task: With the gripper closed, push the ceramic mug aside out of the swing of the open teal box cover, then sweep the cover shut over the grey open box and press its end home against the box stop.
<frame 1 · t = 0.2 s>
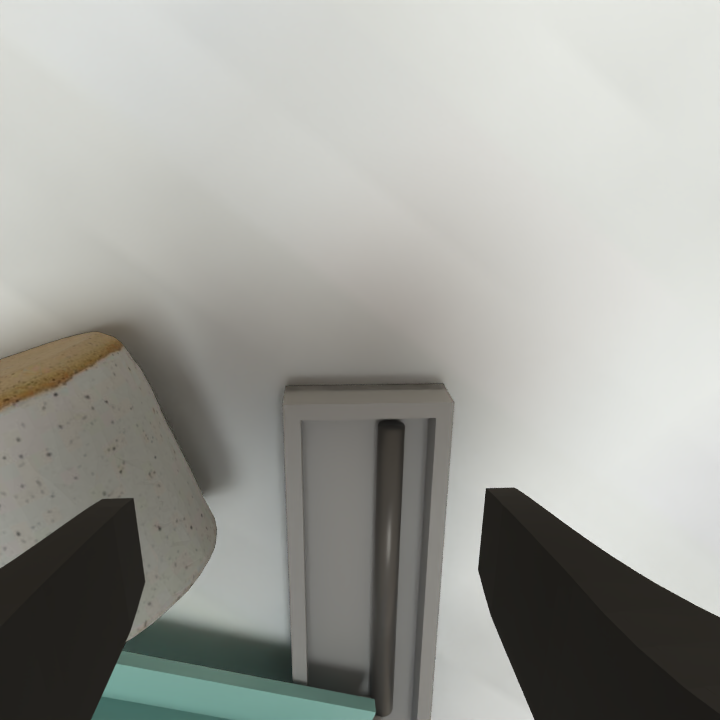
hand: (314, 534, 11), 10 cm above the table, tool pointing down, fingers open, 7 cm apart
ceramic mug: (76, 446, 21), on the table
grey open box: (362, 568, 23), on the table
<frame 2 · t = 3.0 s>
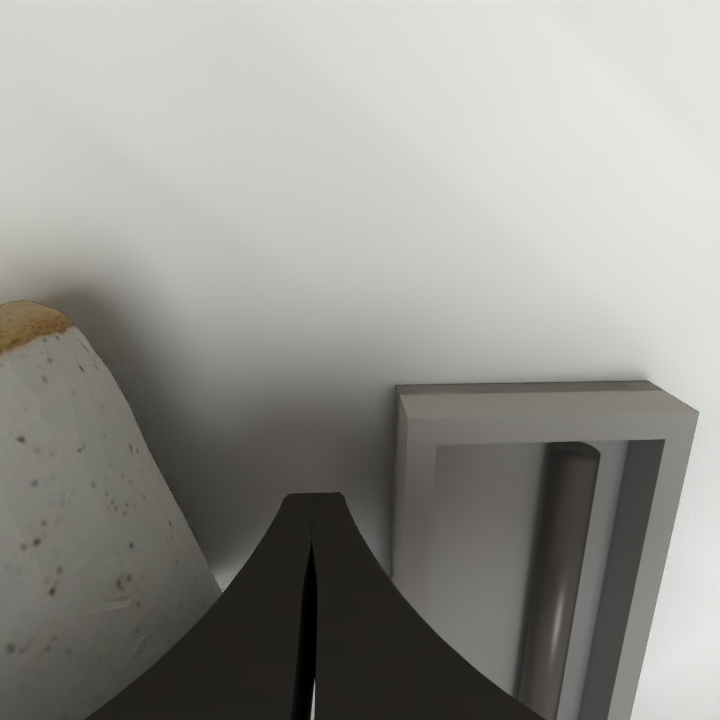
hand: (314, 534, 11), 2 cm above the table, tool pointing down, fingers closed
ceramic mug: (12, 495, 13), on the table, touching gripper
grey open box: (493, 664, 15), on the table
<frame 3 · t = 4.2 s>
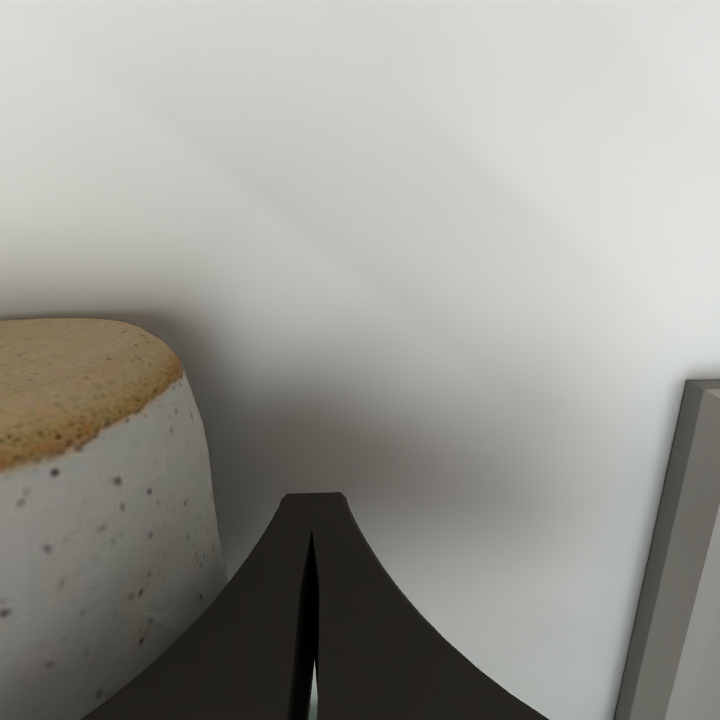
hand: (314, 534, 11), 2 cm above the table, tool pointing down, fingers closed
ceramic mug: (34, 484, 13), on the table, touching gripper
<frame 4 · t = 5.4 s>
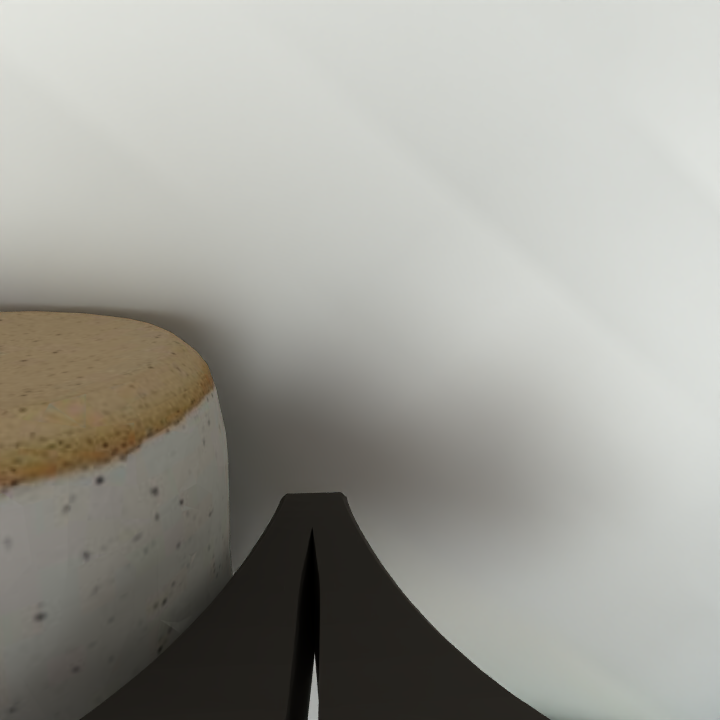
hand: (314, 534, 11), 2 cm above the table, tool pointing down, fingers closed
ceramic mug: (38, 474, 13), on the table, touching gripper
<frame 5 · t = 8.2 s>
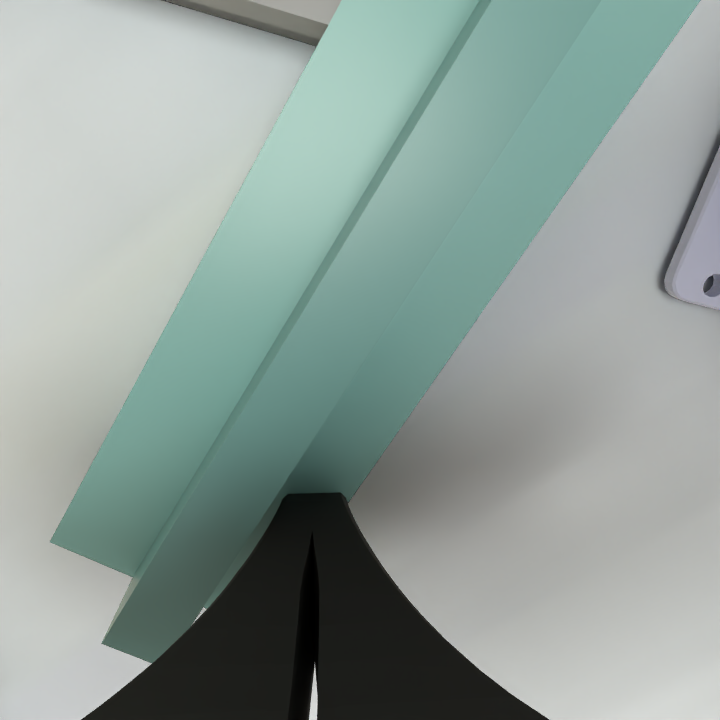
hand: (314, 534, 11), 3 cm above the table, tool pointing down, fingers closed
cover: (364, 266, 9), point 3 cm above the table, hinge at 71.9°, touching gripper
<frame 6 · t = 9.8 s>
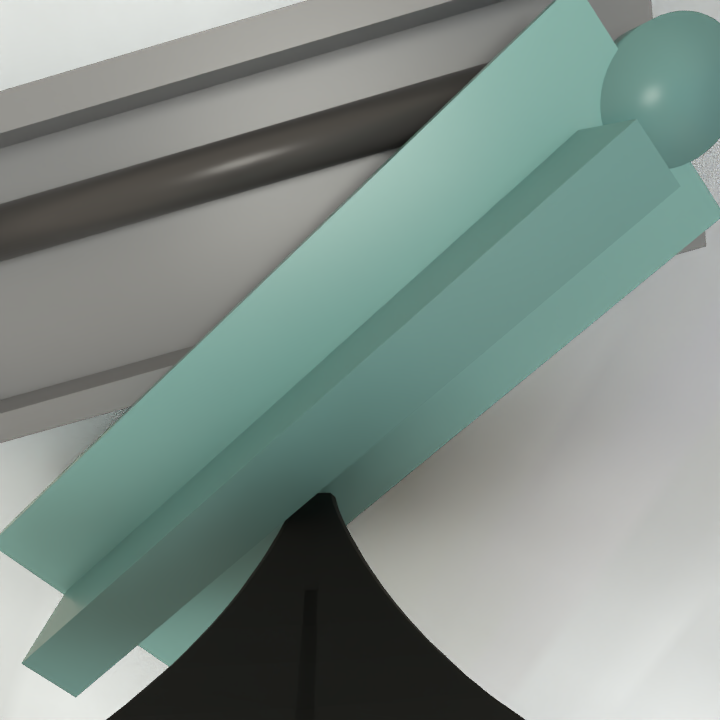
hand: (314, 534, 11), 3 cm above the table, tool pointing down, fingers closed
cover: (367, 373, 10), point 3 cm above the table, hinge at 27.2°, touching gripper
grey open box: (260, 208, 12), on the table
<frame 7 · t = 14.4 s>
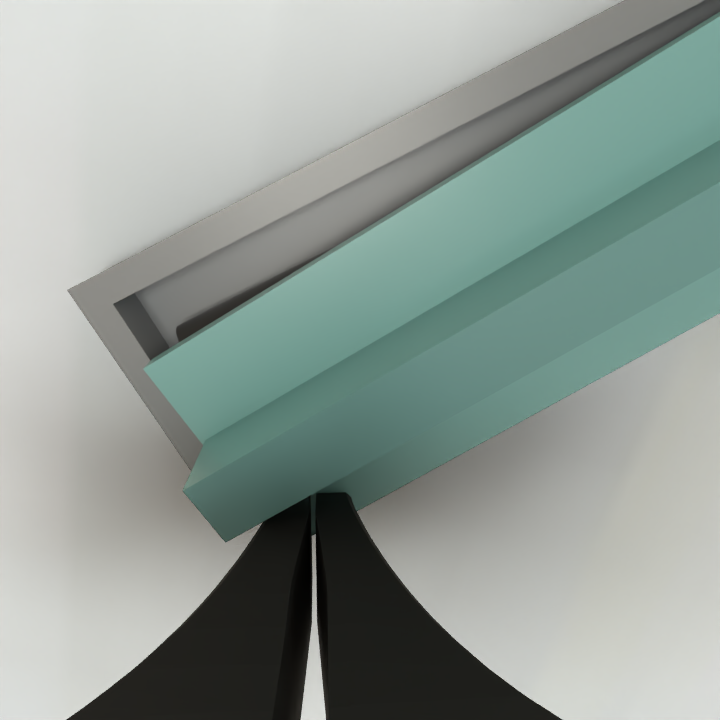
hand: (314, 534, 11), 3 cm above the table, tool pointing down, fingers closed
cover: (607, 255, 9), point 3 cm above the table, hinge at 4.7°, touching gripper
grey open box: (505, 225, 12), on the table
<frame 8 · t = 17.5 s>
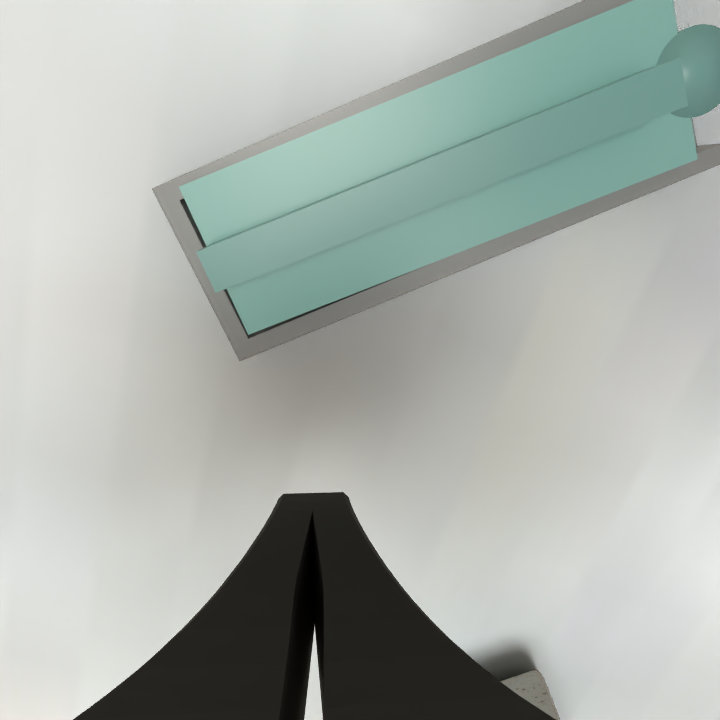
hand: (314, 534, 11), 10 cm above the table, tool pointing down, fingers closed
cover: (473, 162, 15), point 3 cm above the table, hinge at -1.1°
grey open box: (434, 175, 18), on the table
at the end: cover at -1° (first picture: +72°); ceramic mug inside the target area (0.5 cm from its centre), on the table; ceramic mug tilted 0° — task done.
